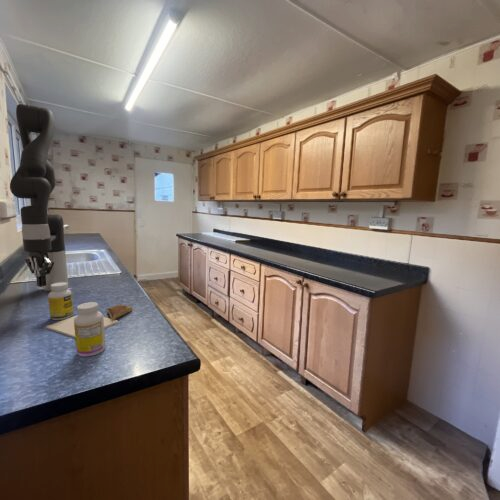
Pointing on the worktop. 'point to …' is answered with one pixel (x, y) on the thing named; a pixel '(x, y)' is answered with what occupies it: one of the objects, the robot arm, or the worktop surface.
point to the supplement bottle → (89, 330)
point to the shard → (118, 311)
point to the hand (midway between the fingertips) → (42, 285)
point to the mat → (68, 325)
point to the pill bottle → (60, 301)
